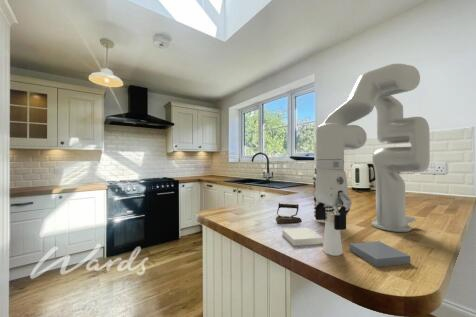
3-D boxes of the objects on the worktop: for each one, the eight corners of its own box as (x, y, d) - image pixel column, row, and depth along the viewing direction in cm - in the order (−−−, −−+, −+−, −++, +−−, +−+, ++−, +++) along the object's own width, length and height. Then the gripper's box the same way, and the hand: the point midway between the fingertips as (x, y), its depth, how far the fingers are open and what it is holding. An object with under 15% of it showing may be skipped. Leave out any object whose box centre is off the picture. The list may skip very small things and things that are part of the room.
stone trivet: (308, 233, 78) (308, 227, 78) (323, 243, 69) (323, 237, 69) (282, 234, 77) (282, 229, 77) (293, 246, 67) (293, 239, 67)
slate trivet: (378, 247, 65) (378, 241, 65) (410, 263, 55) (410, 255, 55) (349, 250, 63) (349, 243, 63) (376, 267, 54) (376, 259, 54)
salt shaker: (333, 246, 66) (332, 211, 66) (347, 254, 61) (346, 215, 61) (318, 249, 64) (318, 213, 64) (331, 257, 59) (331, 217, 59)
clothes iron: (273, 220, 97) (278, 198, 98) (298, 226, 96) (302, 204, 97) (275, 223, 90) (280, 200, 91) (302, 230, 89) (307, 206, 90)
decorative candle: (318, 223, 90) (317, 164, 90) (310, 217, 99) (309, 164, 99) (339, 223, 90) (338, 164, 90) (329, 217, 99) (329, 163, 99)
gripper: (362, 166, 55) (362, 233, 54) (324, 165, 72) (324, 216, 71) (336, 166, 53) (336, 234, 53) (304, 165, 70) (303, 217, 70)
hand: (329, 224), depth 62 cm, fingers open, 9 cm apart
